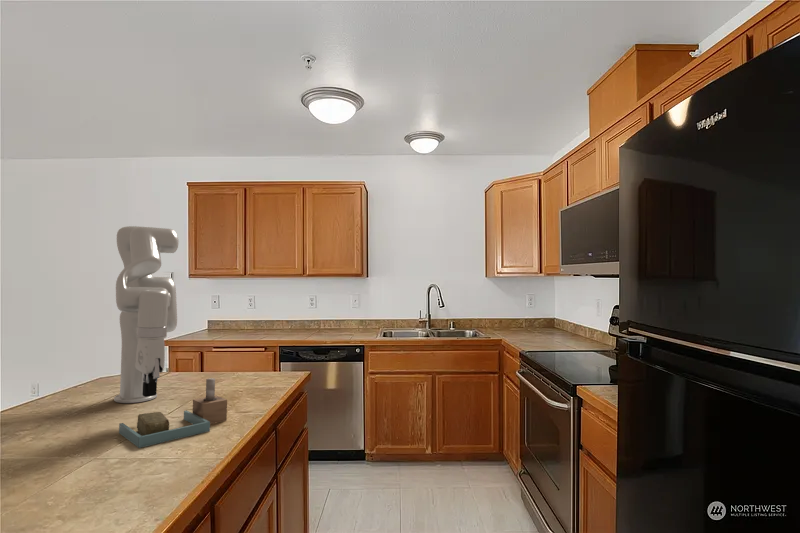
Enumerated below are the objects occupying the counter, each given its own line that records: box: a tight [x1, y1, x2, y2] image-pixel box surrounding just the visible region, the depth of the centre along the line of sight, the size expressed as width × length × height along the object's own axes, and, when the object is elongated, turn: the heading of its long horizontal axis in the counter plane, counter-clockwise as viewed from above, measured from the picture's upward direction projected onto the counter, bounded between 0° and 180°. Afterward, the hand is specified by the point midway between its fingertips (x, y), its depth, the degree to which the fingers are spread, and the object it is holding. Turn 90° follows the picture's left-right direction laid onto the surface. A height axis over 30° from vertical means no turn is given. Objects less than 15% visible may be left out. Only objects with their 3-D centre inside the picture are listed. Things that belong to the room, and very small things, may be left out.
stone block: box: [136, 411, 170, 436], centre depth 120 cm, size 6×12×5 cm, turn 41°
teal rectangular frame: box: [118, 410, 211, 449], centre depth 122 cm, size 15×18×2 cm
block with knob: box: [192, 377, 228, 425], centre depth 133 cm, size 7×7×12 cm
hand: (149, 395), depth 131 cm, fingers closed
